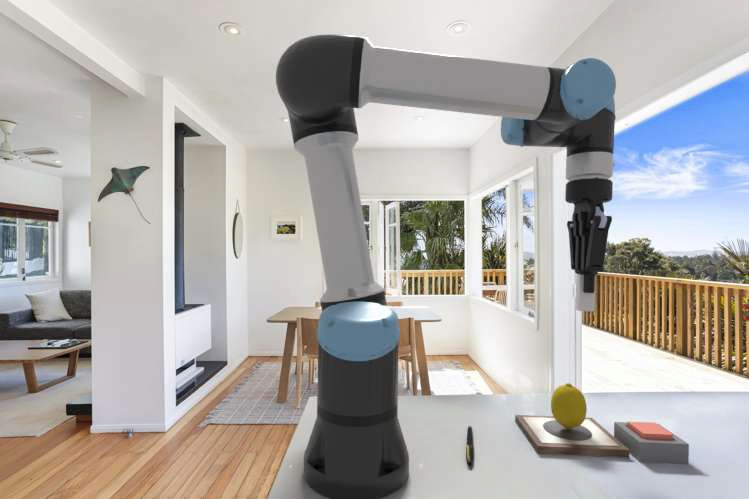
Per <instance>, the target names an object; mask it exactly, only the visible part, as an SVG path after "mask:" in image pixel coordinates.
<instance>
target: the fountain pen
mask: <svg viewBox="0 0 749 499" xmlns="http://www.w3.org/2000/svg"><path fill="white" fill-rule="evenodd" d="M474 452H475V451H474V436H473V428H472V426H471V424H469V425H468V426H467V432H466V446H465V458H466V464H467V465H468V466H469V467H471V466H473V464H474V456H475V453H474Z"/></svg>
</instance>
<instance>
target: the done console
mask: <svg viewBox="0 0 749 499" xmlns="http://www.w3.org/2000/svg"><path fill="white" fill-rule="evenodd" d="M627 422H628V421H626V422H624V421H623V422H622V421H614V422H613V423H614V424H613V436H614V437H615V438H616V439H617V440H618V441H619V442H621V443H622V444H623V445H624V446H625V447H626V448H628V449H629V455H631V456H632V457H633V458H635V459H636V460H637V461H638V462H639V463H658V464H659V463H660V464H661V463H665V464H685V465H686V464H687V465H688V464H689V463H690V462H689V459H690V458H689V454H690V448H689V447H690V446H689V445H690V444H689V443H688V442H686V440H684V439H683V438H680V437H679V436H677V435H676V434H674V433H673V432H671V431H670V430H668V429H667V428H666V427H664V426H662V425H661V424H660V423H657V424H658V425H659V426H661V427H662V428H664V429H665V430H667V431H668V432H670V433H671V434H673V440H656V439H642V438H641V437H640V436H638V435H637V434H636V433H634V432H633V431H632V430H630V429H629V428H628V427H627Z"/></svg>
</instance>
